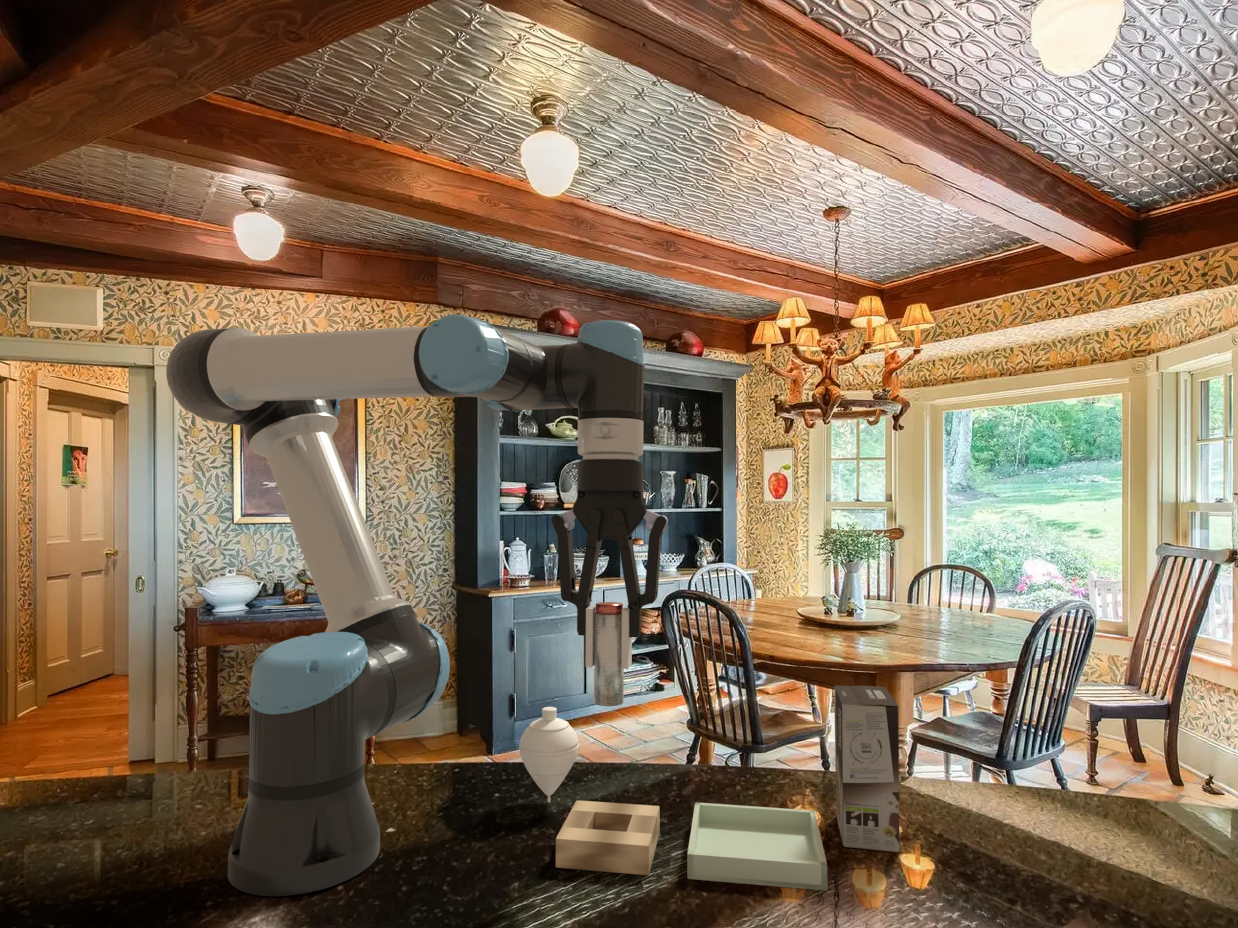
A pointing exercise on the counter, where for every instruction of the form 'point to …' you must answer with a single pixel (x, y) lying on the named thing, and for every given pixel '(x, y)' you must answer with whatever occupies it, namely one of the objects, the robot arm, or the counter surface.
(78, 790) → the counter surface
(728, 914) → the counter surface
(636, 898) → the counter surface
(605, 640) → the pin
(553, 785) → the spinning top
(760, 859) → the tray
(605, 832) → the block
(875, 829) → the coffee box
